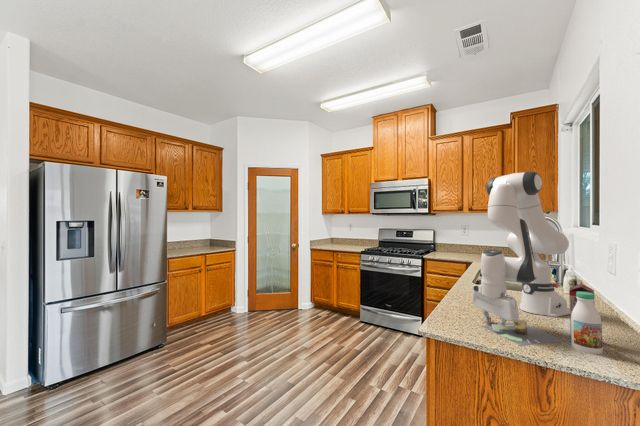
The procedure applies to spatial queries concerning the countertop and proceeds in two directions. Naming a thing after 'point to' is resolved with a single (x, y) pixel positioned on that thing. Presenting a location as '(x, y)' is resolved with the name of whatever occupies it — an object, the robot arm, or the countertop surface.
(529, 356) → the countertop surface
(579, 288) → the milk carton
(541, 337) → the dial board
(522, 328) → the tuner knob with pointer
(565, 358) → the countertop surface
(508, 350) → the countertop surface
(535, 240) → the robot arm
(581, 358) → the countertop surface
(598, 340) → the milk bottle
